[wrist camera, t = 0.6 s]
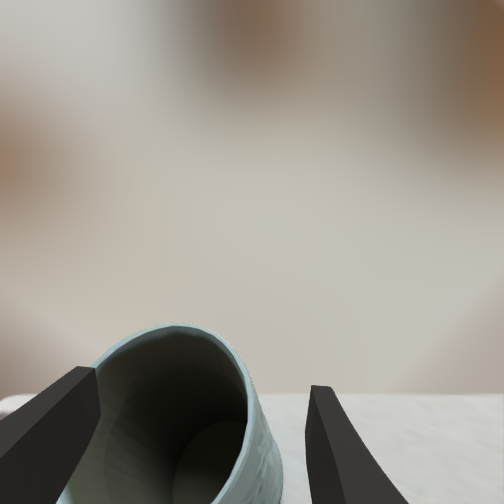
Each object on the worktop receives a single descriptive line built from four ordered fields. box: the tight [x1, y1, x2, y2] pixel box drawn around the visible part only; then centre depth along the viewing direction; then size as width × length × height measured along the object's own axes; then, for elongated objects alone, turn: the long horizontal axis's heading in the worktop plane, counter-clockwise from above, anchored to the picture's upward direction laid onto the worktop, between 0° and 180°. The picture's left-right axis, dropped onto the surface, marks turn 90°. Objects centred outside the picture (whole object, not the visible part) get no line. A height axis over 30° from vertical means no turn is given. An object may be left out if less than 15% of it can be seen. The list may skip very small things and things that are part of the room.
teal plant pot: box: [56, 323, 283, 504], centre depth 21 cm, size 10×10×12 cm
